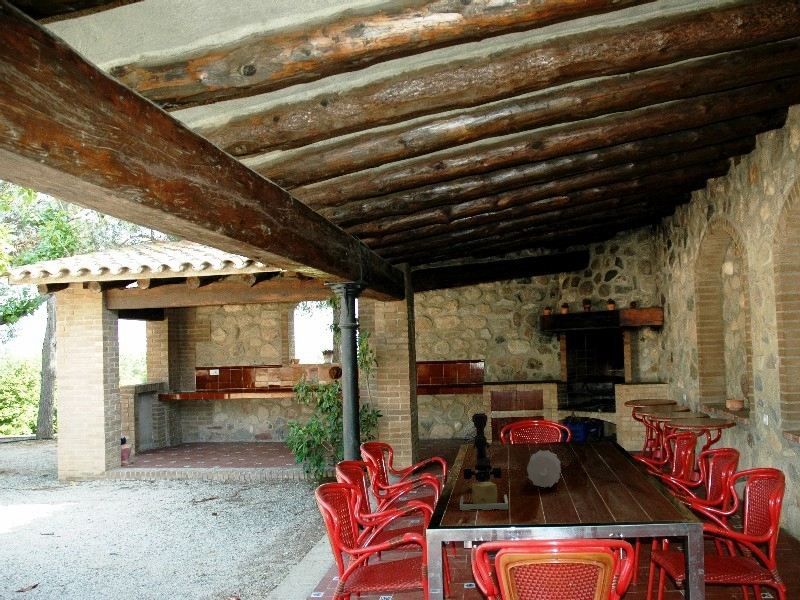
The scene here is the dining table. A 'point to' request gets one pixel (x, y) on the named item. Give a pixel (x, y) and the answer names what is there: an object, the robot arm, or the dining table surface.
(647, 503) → the dining table surface
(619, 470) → the dining table surface
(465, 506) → the grey u-shaped frame
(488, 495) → the cheese
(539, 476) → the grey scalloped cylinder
